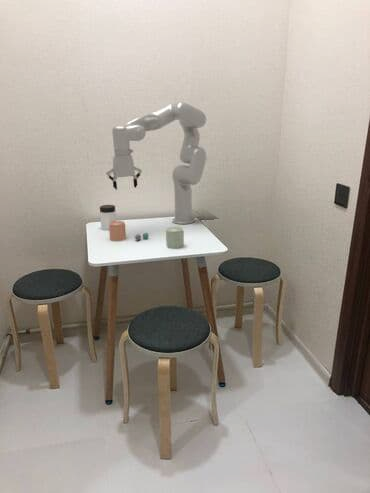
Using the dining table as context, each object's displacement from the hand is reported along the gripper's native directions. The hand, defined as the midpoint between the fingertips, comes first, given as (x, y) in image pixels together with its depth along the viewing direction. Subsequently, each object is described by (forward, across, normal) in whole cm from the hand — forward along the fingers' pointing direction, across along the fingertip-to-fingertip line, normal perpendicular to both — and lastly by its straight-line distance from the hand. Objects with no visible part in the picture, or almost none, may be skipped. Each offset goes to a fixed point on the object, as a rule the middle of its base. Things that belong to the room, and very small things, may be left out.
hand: (125, 188), depth 195 cm
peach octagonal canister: (+24, +7, +6) cm, 25 cm away
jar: (+24, +9, -15) cm, 30 cm away
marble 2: (+21, -6, +11) cm, 24 cm away
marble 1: (+21, -2, +12) cm, 24 cm away
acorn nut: (+24, -16, +26) cm, 39 cm away
